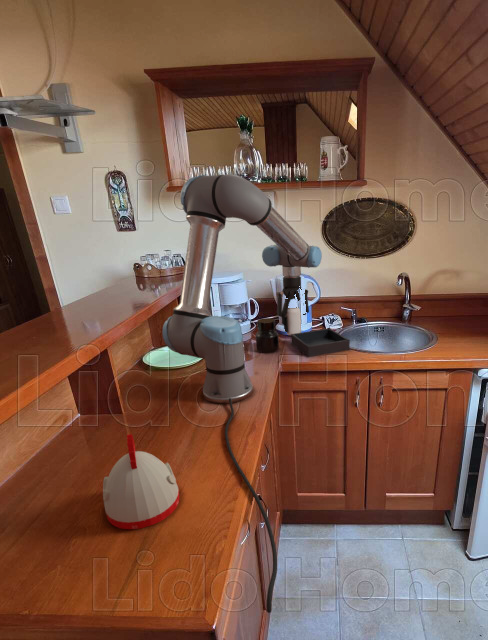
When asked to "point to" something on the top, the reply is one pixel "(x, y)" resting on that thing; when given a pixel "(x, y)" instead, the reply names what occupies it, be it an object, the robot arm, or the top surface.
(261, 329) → the ink bottle
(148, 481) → the toy helmet
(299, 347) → the pan
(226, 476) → the top surface
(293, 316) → the can
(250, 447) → the top surface
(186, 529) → the top surface
